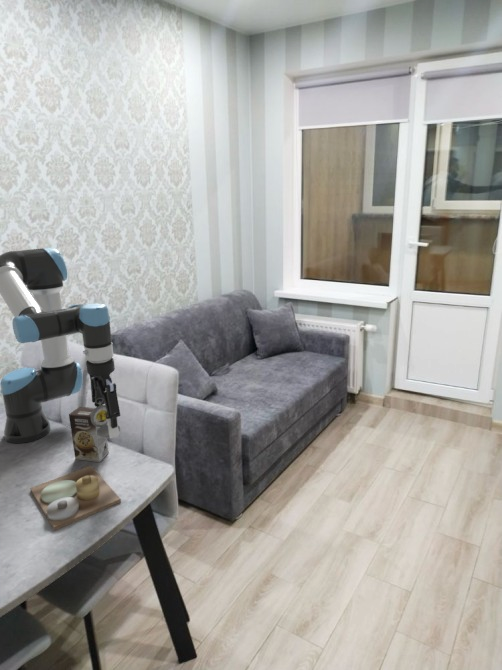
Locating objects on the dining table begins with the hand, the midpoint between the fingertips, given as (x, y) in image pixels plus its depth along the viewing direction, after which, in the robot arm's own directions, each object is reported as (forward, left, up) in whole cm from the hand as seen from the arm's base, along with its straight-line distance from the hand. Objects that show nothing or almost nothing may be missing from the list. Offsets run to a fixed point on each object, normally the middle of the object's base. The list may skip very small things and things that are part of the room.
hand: (108, 431), depth 141 cm
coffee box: (-15, -1, -15) cm, 21 cm away
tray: (+3, -13, -15) cm, 20 cm away
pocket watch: (-1, 0, 0) cm, 1 cm away
